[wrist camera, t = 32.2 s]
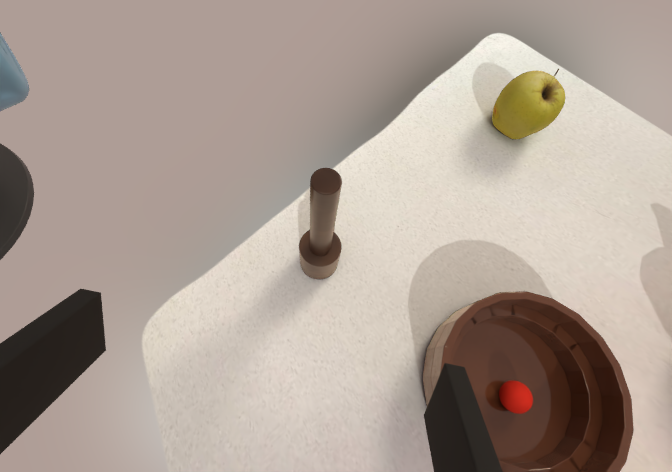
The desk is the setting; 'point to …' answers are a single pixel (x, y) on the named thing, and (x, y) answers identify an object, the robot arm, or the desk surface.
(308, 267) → the brown pestle
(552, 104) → the apple
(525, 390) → the red ball
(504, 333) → the bowl
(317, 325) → the desk surface
